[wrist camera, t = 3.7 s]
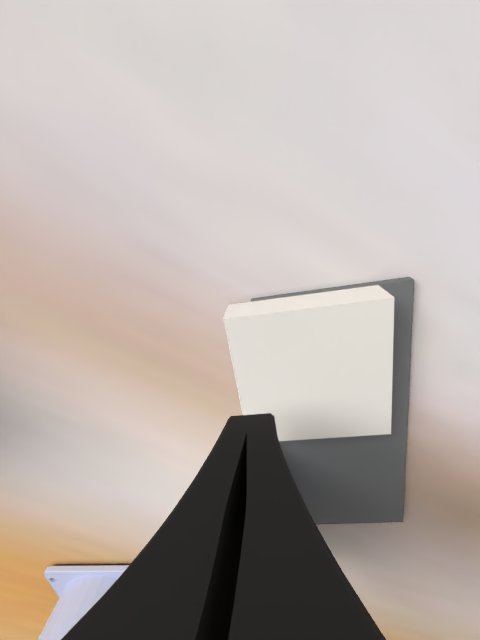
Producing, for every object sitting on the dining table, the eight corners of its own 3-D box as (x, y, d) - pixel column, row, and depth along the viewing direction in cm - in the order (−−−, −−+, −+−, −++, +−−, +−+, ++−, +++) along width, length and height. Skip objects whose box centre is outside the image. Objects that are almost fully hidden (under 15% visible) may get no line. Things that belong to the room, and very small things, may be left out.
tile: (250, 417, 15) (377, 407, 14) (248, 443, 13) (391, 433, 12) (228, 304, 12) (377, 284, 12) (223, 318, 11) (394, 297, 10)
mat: (400, 514, 17) (403, 521, 16) (287, 518, 18) (288, 524, 17) (409, 276, 12) (414, 279, 11) (251, 298, 13) (250, 301, 12)
